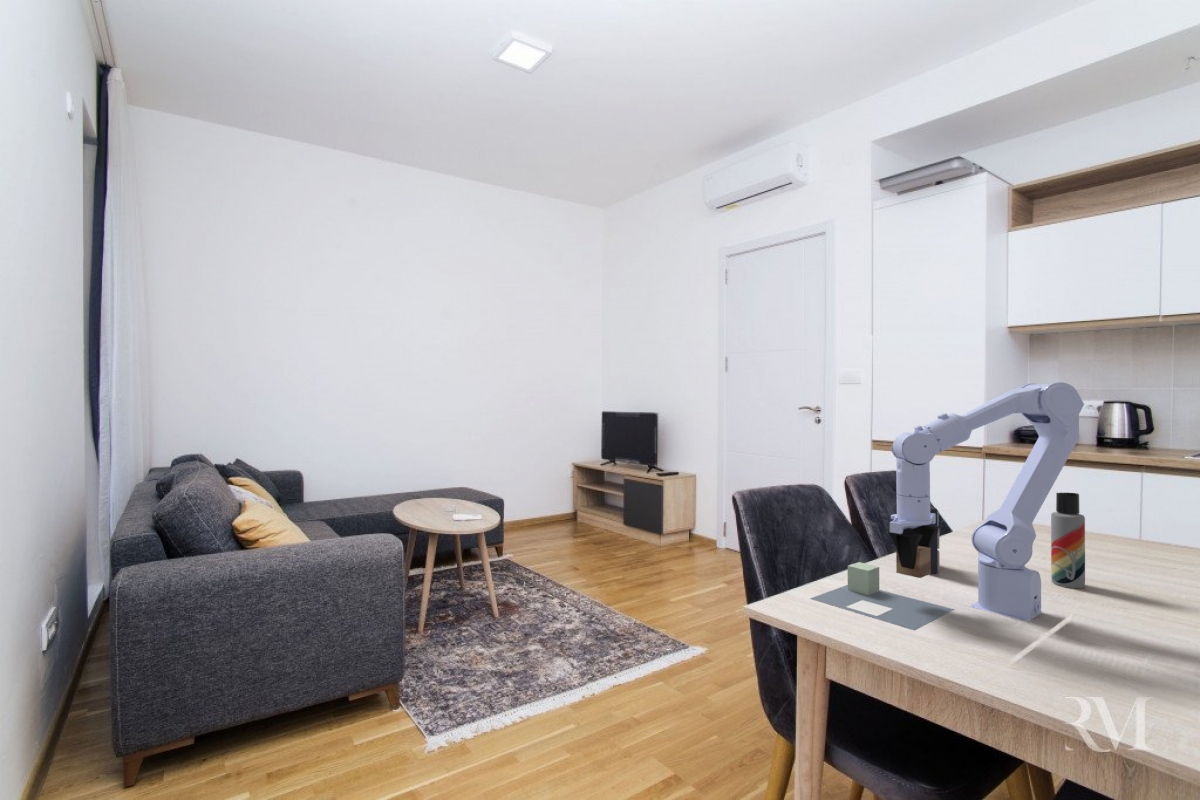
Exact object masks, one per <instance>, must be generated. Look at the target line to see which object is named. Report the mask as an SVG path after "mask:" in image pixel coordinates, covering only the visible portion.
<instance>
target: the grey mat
mask: <svg viewBox="0 0 1200 800" xmlns="http://www.w3.org/2000/svg"><path fill="white" fill-rule="evenodd" d="M809 600H813V601H816V602H819V603H822V604H825V605H829V606H832V607H836V608H839V609H841V610H842V609H843V610H846V611H850V612H852V613H854V614H859V615H863V616H865V617H868V618H872V619H875V620H879V621H882V622H886V623H889V624H892V625H894V626H899V627H902V628H906V629H908V630H911V631H916V630H918V629H919V628H923V626H926V625H927V624H929V623H932V622H934V621H935V620H937V619H939V618H941V617H943V616H944V615H947V614H948V613H950V612H952V611H955V609H954V608H951V607H947V606H943V605H940V604H936V603H931V602H927V601H923V600H920V599H916V598H911V597H909V596H905V595H900V594H897V593H893V592H890V591H886V590H883V589H879V591H878V592H876V593H873V594H871V595H865V594H861V593H857V592H854V591H850V590H848V584H846V585H843V586H841V587H838V588H835V589H832V590H830V591H826V592H824V593H821V594H819V595H816V596H814V597H813V596H812V597H810V599H809Z"/></svg>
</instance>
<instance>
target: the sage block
mask: <svg viewBox="0 0 1200 800" xmlns="http://www.w3.org/2000/svg"><path fill="white" fill-rule="evenodd" d="M847 585H848V590H850V591H854V592H857V593H861V594H865V595H871V594H873V593H876V592H878V591H879V590H880V566H878V565H873V564H870V563H869V564H868V563H865V562H860V561H858V562H855V563H852V564H848V565H847Z"/></svg>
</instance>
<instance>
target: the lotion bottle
mask: <svg viewBox="0 0 1200 800" xmlns="http://www.w3.org/2000/svg"><path fill="white" fill-rule="evenodd" d="M1055 493H1056V496H1055V497H1056V498H1055V499H1056V503H1055V504H1056V505H1055V510H1056V511H1054V512H1051V513H1050V515H1051V516H1050V559H1051V563H1050V566H1051V567H1050V569H1051V570H1050V576H1051V579H1050V580H1051V582H1052V584H1054V585H1056V586H1059V587H1064V588H1070V589H1083V588H1085V586H1086V518H1085V516H1084V515H1083V514H1081V513H1080V494H1079V493H1078V492H1055Z"/></svg>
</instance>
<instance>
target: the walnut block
mask: <svg viewBox="0 0 1200 800" xmlns="http://www.w3.org/2000/svg"><path fill="white" fill-rule="evenodd" d="M895 549H896V548H895ZM895 555H896V558H895V559H896V560H895V561H896V562H895V563H896V566H895V567H896V571H895V572H896V573H897V574H901V575H904V576H909V577H913V578H917V579H921V578H924V577H926V576H928V575H930V574H931V550H930V548H929V547H924V546H918V548H917V553H916V562H915V567H914V569H909V568H904V567H902V566H901V563H900V560H899V556H898V552H897V549H896V551H895ZM931 575H932V574H931Z"/></svg>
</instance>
